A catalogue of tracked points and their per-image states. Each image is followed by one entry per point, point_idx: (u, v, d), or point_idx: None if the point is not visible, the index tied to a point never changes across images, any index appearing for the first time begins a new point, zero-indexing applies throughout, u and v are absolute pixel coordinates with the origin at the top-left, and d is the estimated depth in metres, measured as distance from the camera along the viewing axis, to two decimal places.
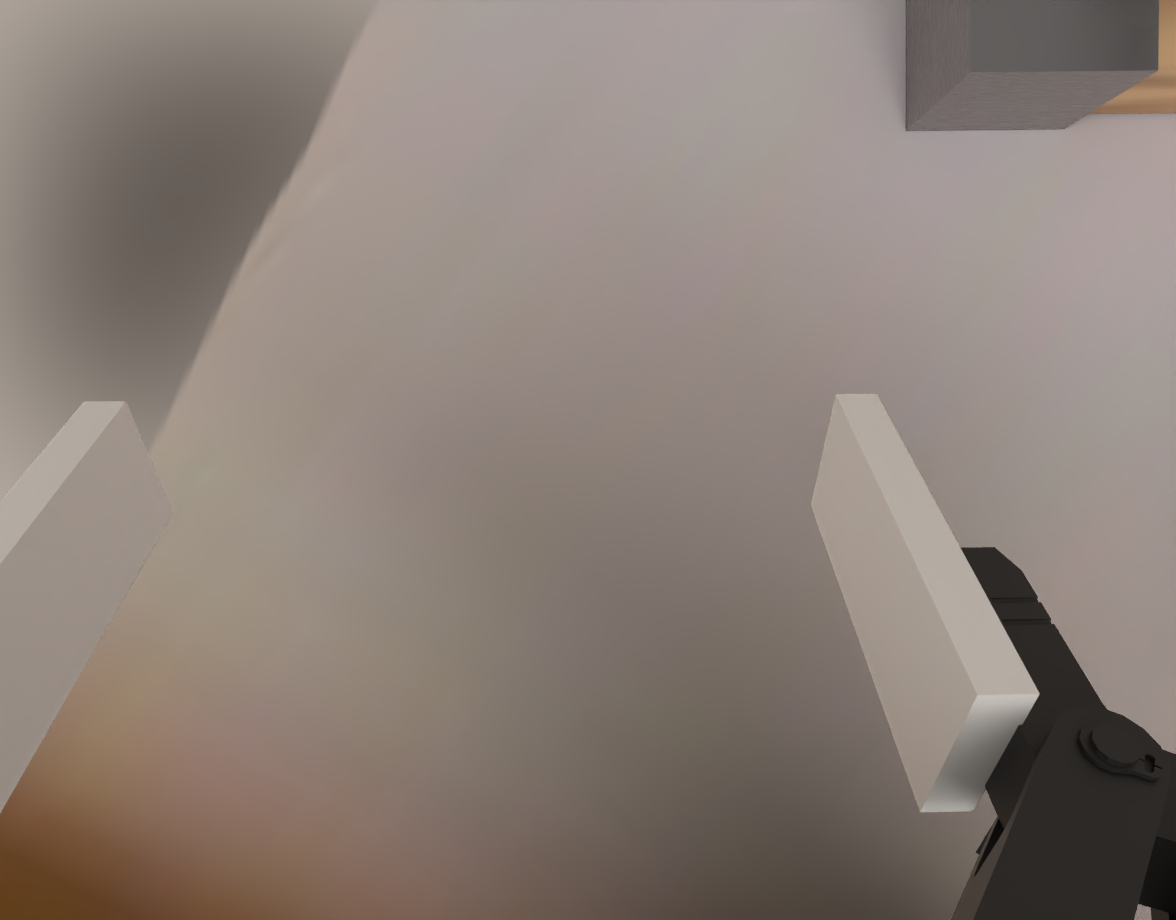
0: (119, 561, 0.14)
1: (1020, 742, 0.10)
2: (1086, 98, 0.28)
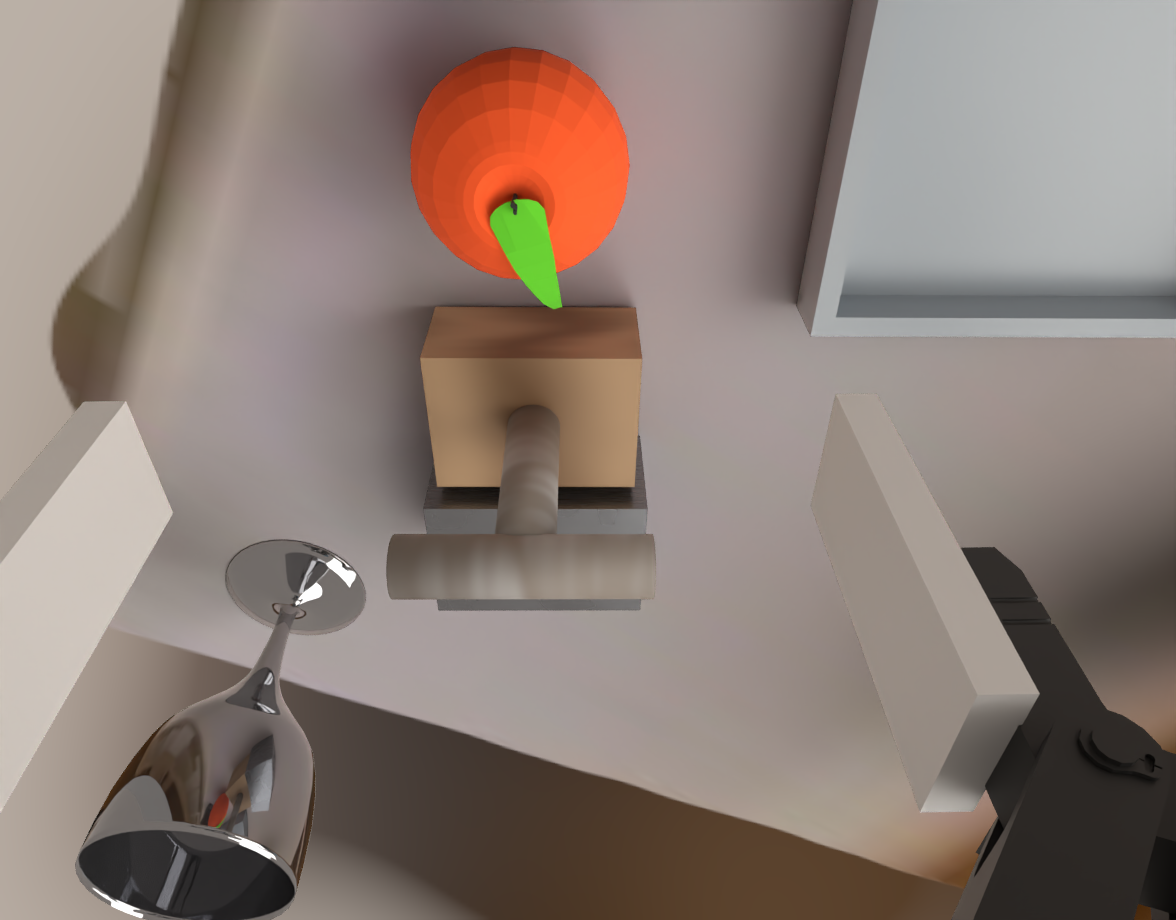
0: (119, 561, 0.14)
1: (1020, 742, 0.10)
2: None
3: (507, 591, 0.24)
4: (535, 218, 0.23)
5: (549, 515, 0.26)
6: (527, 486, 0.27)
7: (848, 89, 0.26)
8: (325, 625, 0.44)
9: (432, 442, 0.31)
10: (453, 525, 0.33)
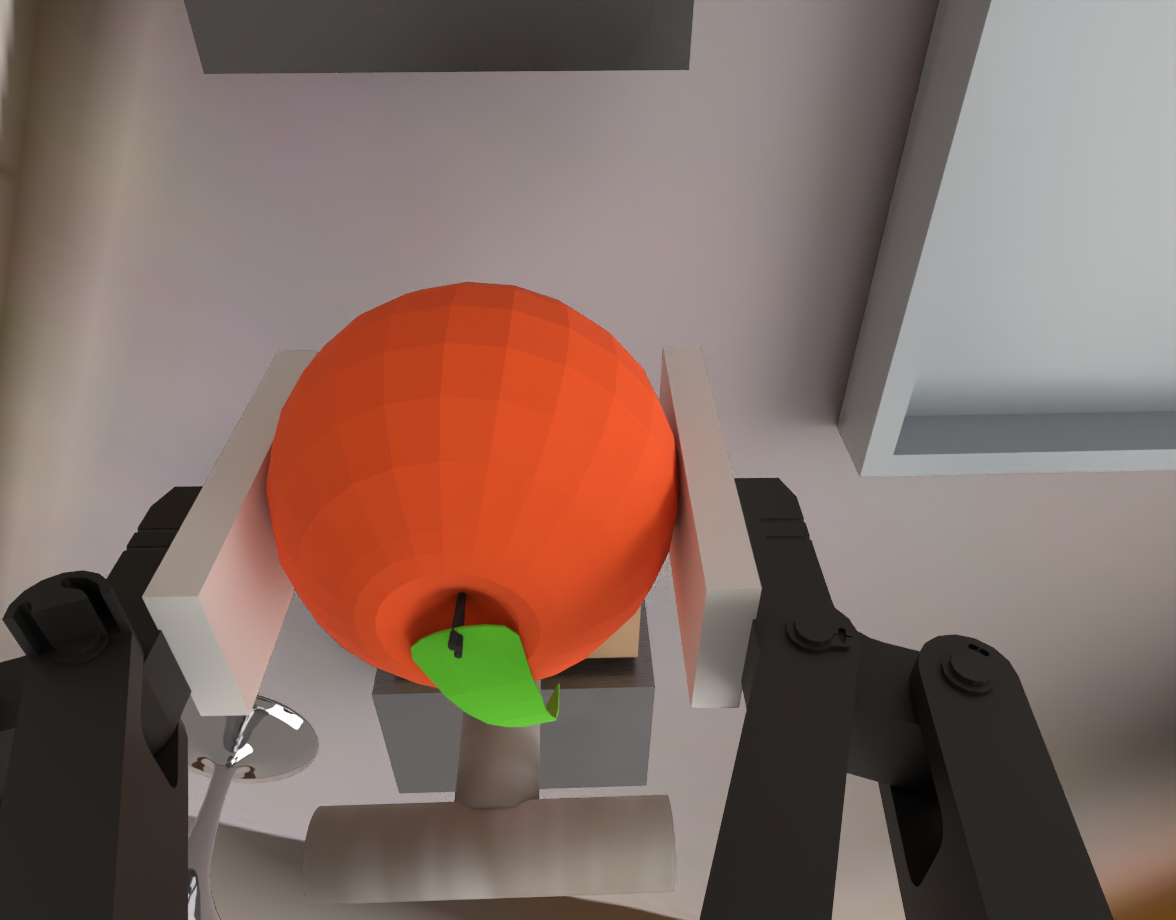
0: None
1: (753, 634, 0.11)
2: None
3: (472, 894, 0.18)
4: (501, 650, 0.12)
5: (528, 764, 0.19)
6: None
7: (919, 177, 0.20)
8: (272, 774, 0.37)
9: None
10: (410, 710, 0.26)
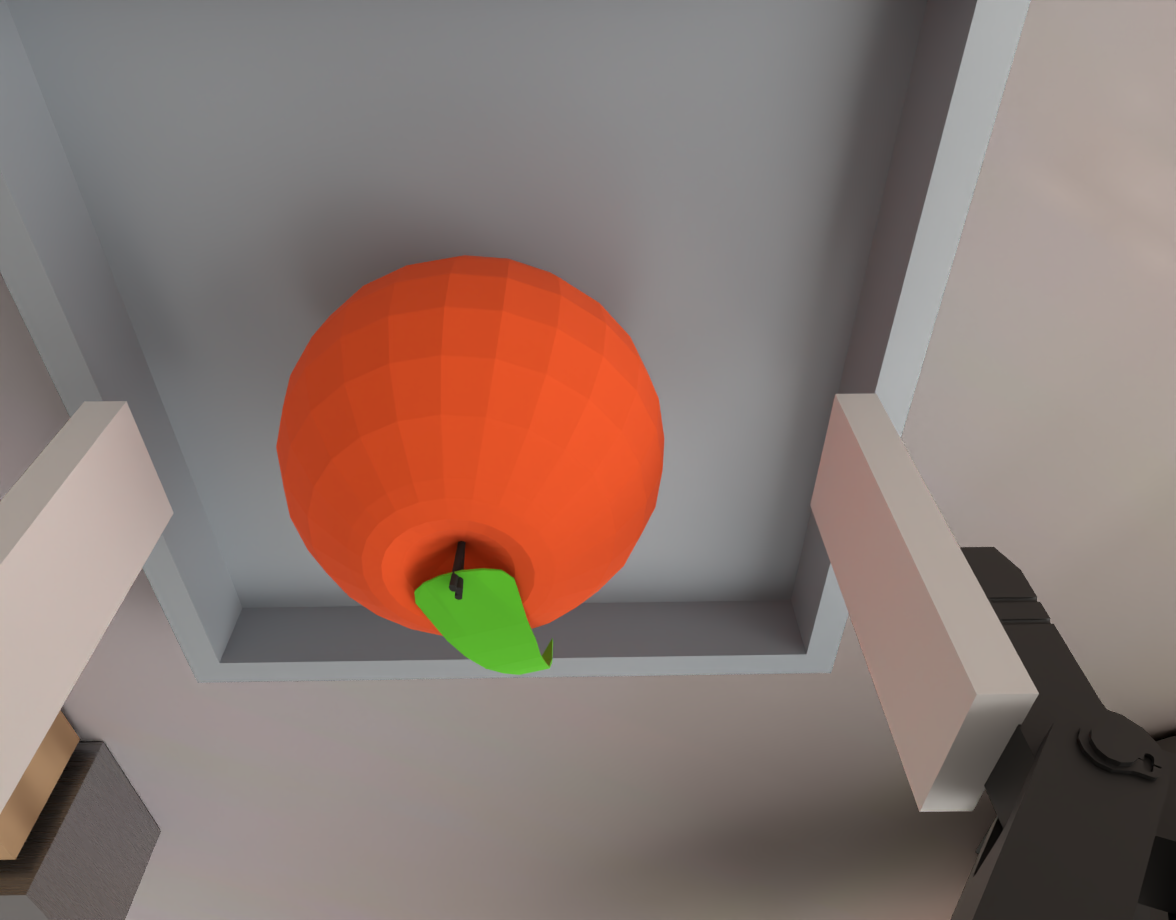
0: (119, 561, 0.14)
1: (1019, 742, 0.10)
2: (73, 838, 0.26)
3: None
4: (498, 593, 0.13)
5: None
6: None
7: None
8: None
9: None
10: None
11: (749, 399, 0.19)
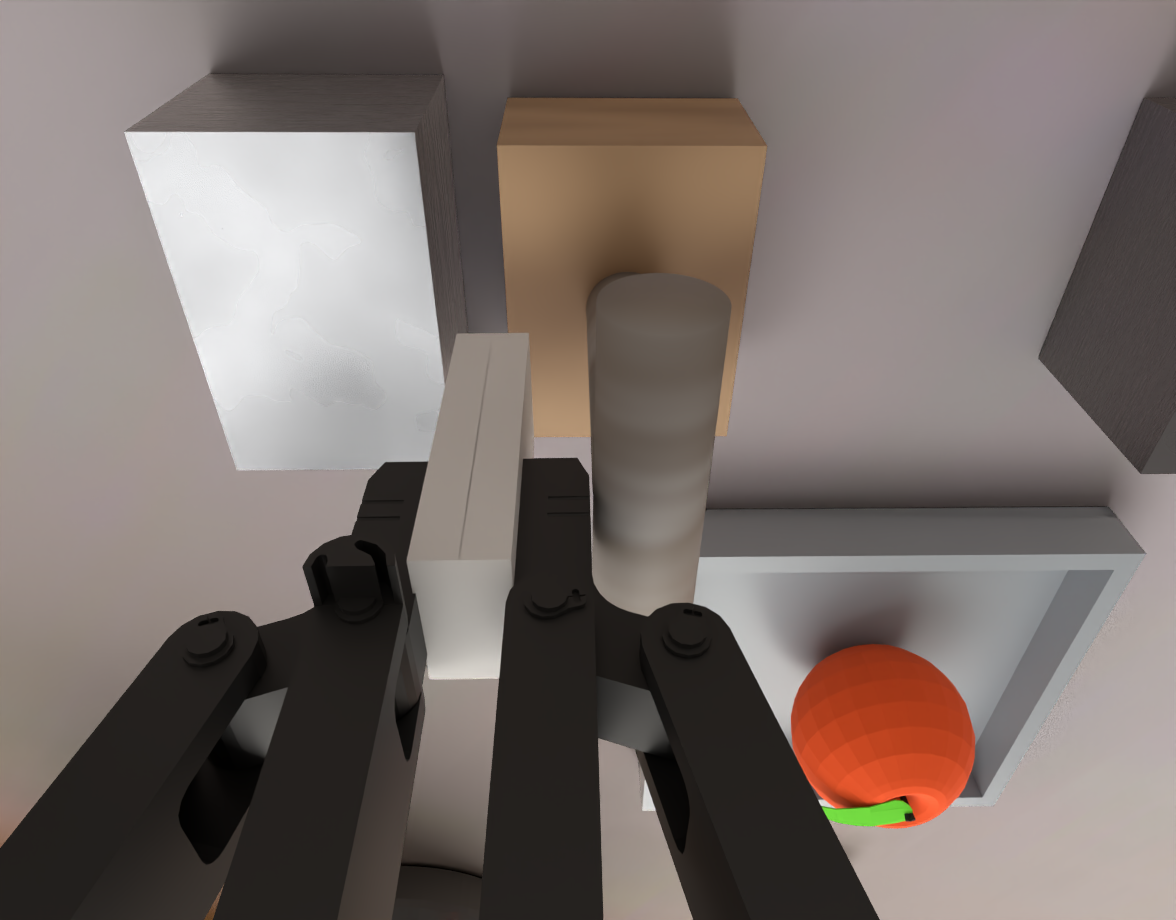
0: None
1: None
2: None
3: (649, 523, 0.13)
4: (893, 820, 0.30)
5: None
6: None
7: (895, 532, 0.29)
8: None
9: (597, 147, 0.18)
10: (378, 185, 0.18)
11: None
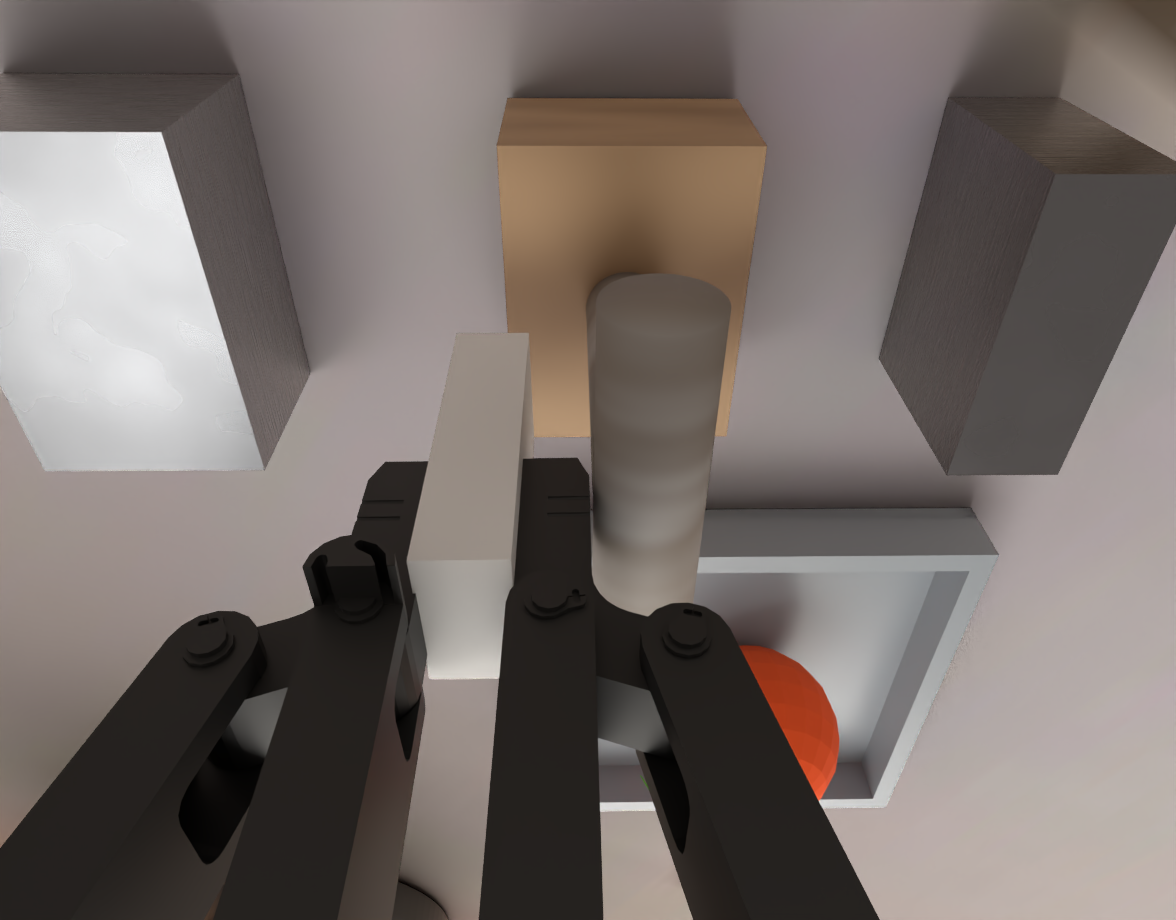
0: None
1: None
2: None
3: (648, 523, 0.13)
4: None
5: None
6: None
7: (751, 533, 0.29)
8: None
9: (597, 147, 0.18)
10: (134, 185, 0.17)
11: None
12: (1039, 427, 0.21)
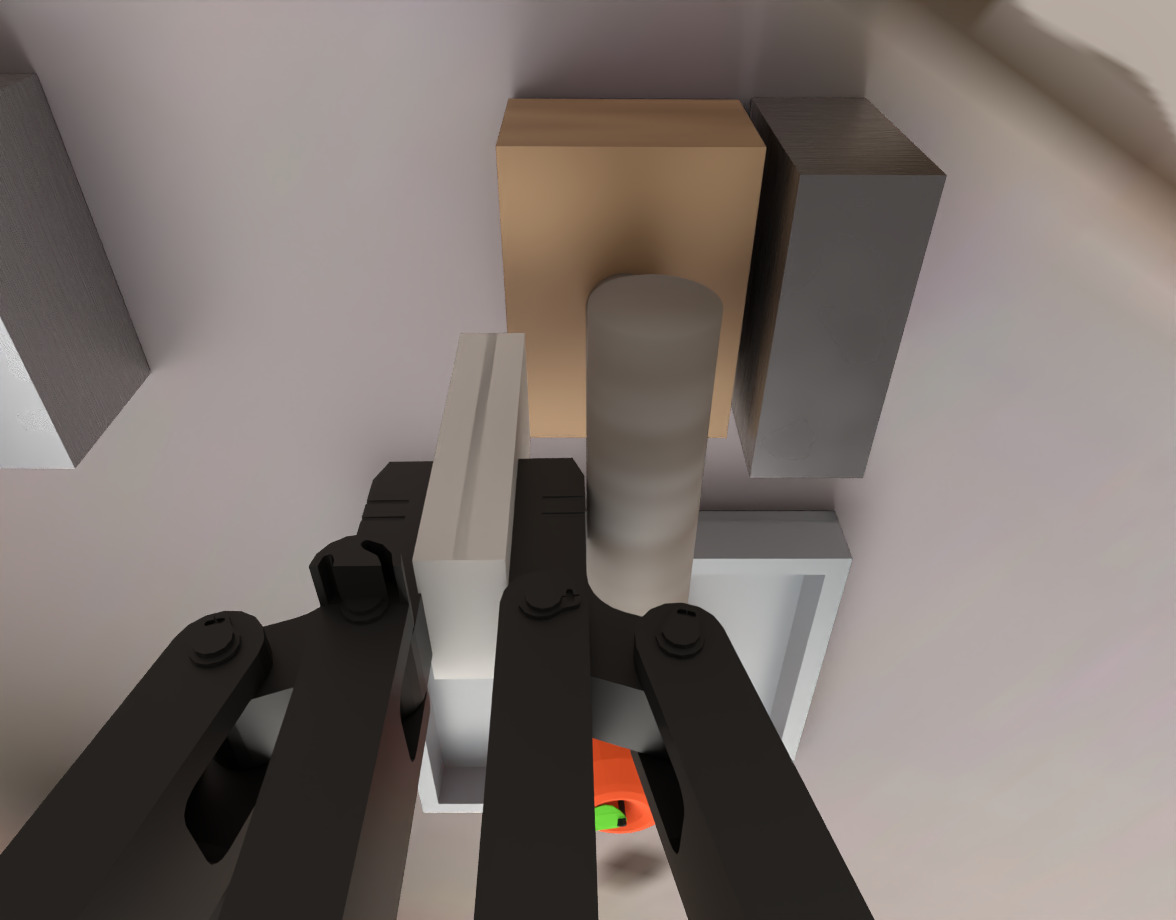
0: None
1: None
2: None
3: (641, 524, 0.13)
4: (610, 825, 0.30)
5: None
6: None
7: None
8: None
9: (595, 148, 0.18)
10: None
11: None
12: (834, 430, 0.20)
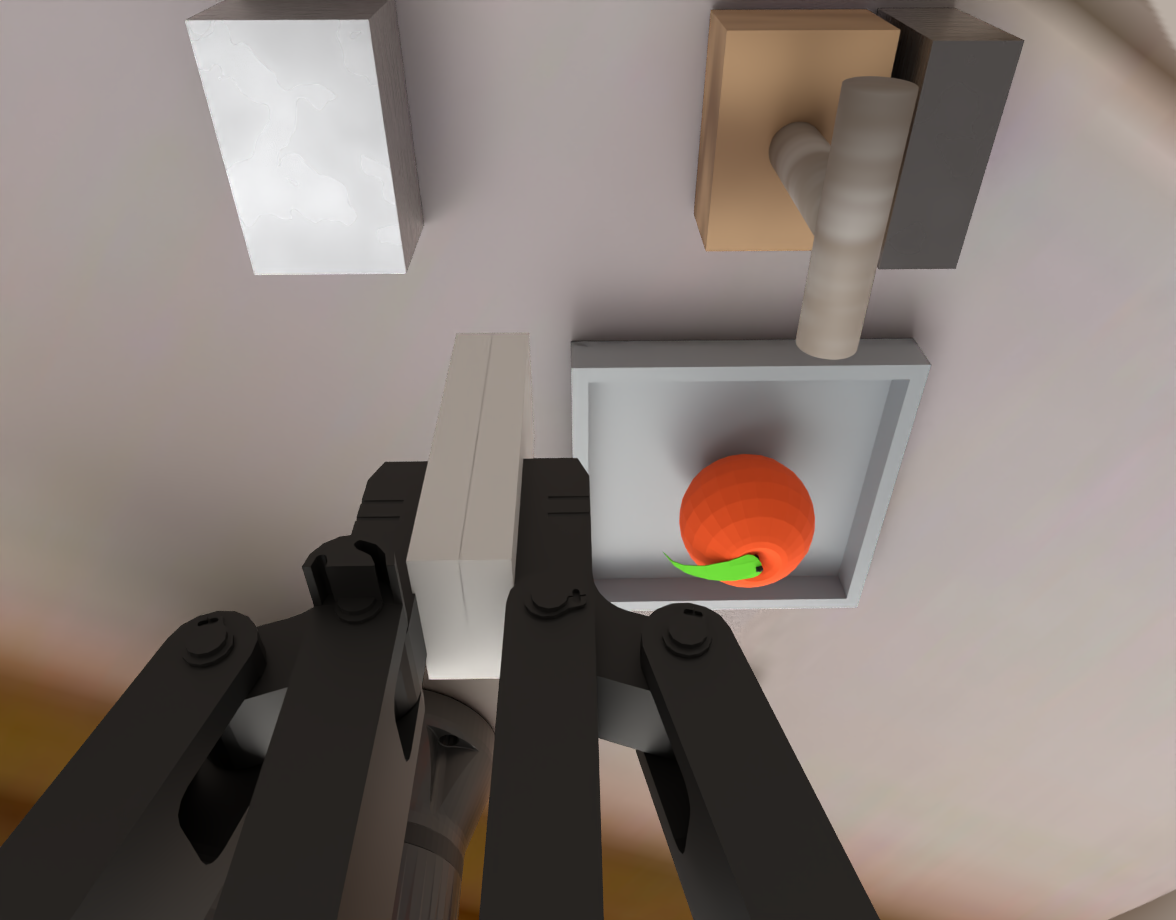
0: None
1: None
2: None
3: (859, 225, 0.23)
4: (749, 574, 0.40)
5: None
6: None
7: (746, 353, 0.39)
8: None
9: (790, 31, 0.28)
10: (346, 56, 0.27)
11: None
12: (939, 230, 0.30)
